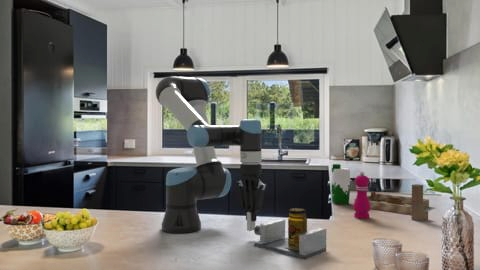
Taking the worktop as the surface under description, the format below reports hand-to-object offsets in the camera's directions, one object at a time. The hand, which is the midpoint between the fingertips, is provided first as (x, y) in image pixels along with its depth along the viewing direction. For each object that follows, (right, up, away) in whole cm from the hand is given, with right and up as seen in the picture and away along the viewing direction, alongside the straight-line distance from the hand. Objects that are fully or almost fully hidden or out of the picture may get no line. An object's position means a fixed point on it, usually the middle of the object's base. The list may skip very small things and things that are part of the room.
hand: (251, 229), depth 147 cm
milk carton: (+48, -2, +68) cm, 83 cm away
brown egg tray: (+71, -2, +59) cm, 93 cm away
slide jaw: (+5, -2, -5) cm, 7 cm away
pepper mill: (+49, -3, +35) cm, 60 cm away
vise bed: (+12, -3, -11) cm, 17 cm away
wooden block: (+73, -3, +30) cm, 79 cm away
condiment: (+15, -3, -13) cm, 20 cm away
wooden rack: (+72, -3, +61) cm, 94 cm away
